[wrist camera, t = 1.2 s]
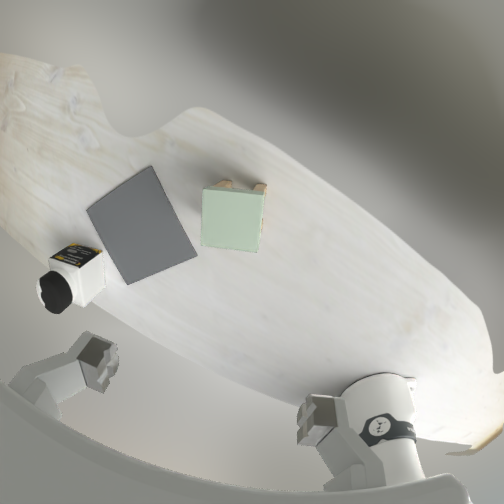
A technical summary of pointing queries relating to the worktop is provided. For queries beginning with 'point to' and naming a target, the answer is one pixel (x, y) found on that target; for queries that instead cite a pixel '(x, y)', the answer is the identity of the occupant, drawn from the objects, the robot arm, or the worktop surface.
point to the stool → (232, 217)
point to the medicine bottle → (72, 278)
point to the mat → (140, 228)
